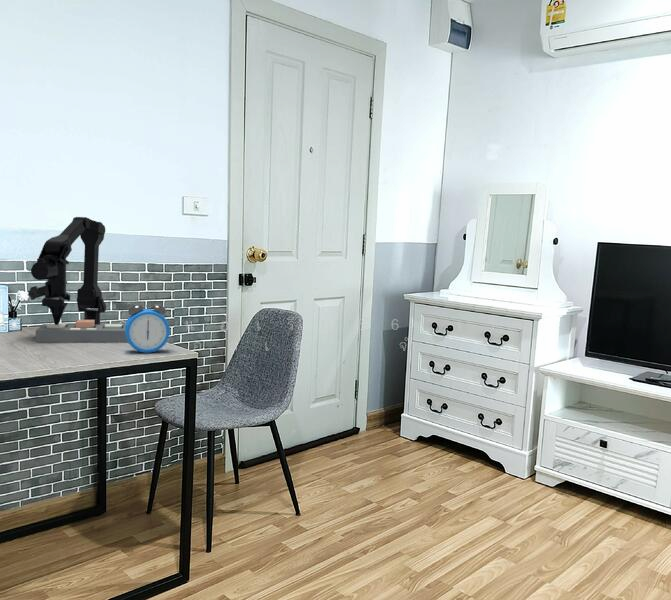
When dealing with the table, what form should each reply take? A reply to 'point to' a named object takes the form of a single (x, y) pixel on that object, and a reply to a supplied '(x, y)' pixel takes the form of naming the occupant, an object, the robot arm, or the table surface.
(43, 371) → the table surface
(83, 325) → the terracotta key
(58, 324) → the cream key
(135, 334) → the alarm clock
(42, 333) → the console
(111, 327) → the sage key
